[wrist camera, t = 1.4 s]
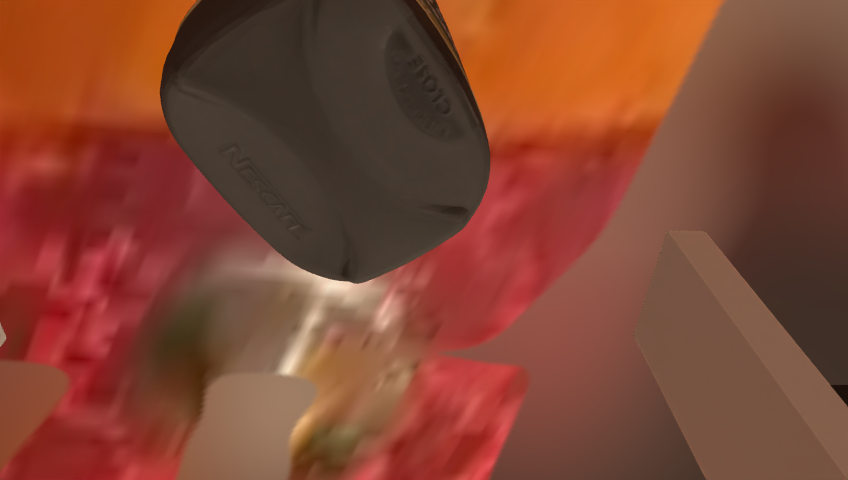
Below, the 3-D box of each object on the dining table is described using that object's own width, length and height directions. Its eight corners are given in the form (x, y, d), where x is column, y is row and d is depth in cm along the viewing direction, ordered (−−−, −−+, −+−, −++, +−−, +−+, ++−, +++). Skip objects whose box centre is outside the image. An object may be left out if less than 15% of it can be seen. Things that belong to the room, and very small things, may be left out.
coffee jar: (464, 38, 33) (548, 226, 17) (342, 114, 35) (321, 346, 19) (360, -145, 28) (350, -106, 12) (225, -44, 30) (71, 98, 14)
